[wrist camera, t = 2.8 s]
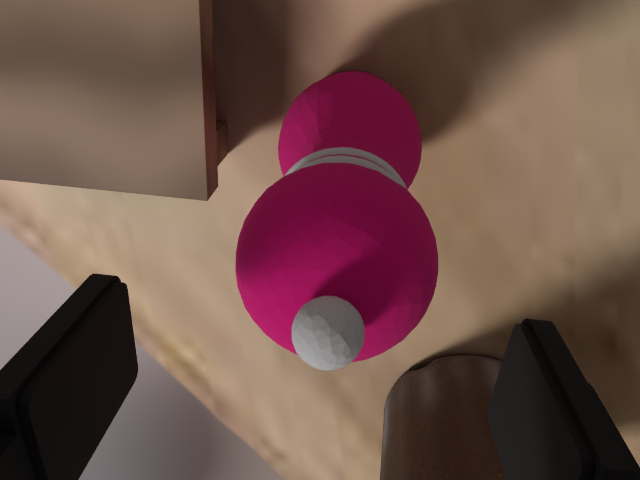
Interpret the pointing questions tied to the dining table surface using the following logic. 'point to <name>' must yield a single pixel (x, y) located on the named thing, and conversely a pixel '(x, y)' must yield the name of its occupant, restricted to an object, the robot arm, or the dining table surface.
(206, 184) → the wooden stool
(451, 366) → the plant pot
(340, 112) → the pepper mill
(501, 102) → the dining table surface
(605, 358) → the dining table surface
